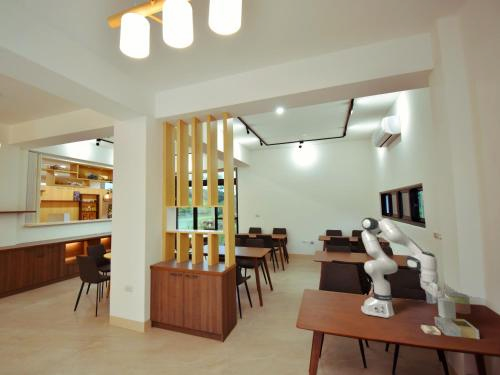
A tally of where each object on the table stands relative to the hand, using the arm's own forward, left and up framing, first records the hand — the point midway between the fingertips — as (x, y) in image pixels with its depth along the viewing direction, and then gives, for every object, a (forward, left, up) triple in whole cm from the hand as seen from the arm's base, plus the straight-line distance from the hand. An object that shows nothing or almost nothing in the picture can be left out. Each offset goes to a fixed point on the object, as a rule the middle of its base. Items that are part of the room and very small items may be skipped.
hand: (431, 300), depth 152 cm
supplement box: (+18, +23, -20) cm, 35 cm away
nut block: (0, 0, -1) cm, 1 cm away
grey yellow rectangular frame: (+13, +3, -19) cm, 23 cm away
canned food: (+33, +37, -20) cm, 53 cm away
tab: (-2, -1, -19) cm, 19 cm away
